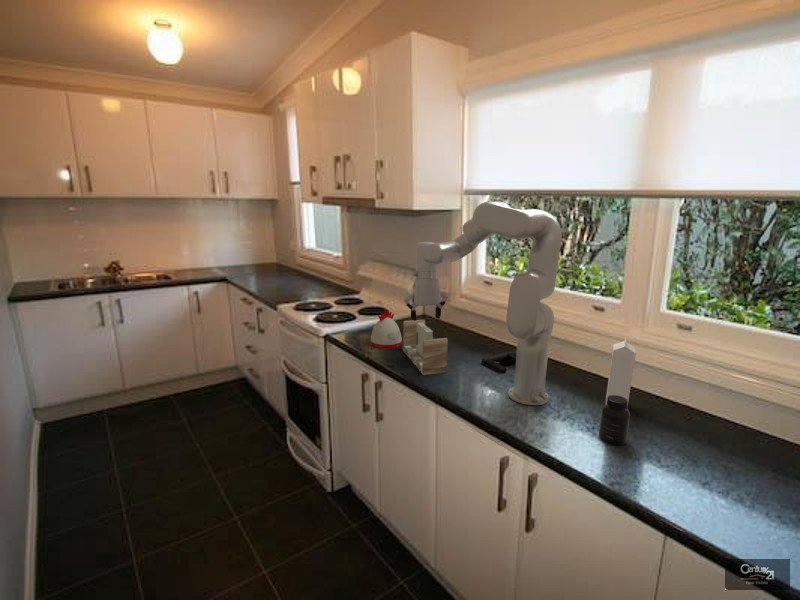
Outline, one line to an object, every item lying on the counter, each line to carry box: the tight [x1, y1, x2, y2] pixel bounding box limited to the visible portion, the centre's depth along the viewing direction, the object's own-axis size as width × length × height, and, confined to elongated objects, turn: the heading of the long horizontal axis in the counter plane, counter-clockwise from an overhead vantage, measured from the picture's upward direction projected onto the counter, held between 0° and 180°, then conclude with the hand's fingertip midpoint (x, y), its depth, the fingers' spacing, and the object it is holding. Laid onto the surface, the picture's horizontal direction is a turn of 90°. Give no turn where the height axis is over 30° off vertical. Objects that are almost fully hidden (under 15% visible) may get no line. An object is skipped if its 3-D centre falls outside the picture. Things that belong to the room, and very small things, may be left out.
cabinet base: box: [402, 319, 449, 376], centre depth 166 cm, size 26×9×13 cm, turn 16°
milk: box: [605, 336, 637, 408], centre depth 131 cm, size 6×6×22 cm
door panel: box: [416, 323, 434, 359], centre depth 166 cm, size 12×3×13 cm, turn 16°
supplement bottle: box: [598, 395, 631, 447], centre depth 113 cm, size 7×7×12 cm
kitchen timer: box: [370, 309, 403, 349], centre depth 186 cm, size 14×14×15 cm
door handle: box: [481, 349, 517, 374], centre depth 164 cm, size 3×20×16 cm
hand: (425, 318), depth 163 cm, fingers open, 9 cm apart
